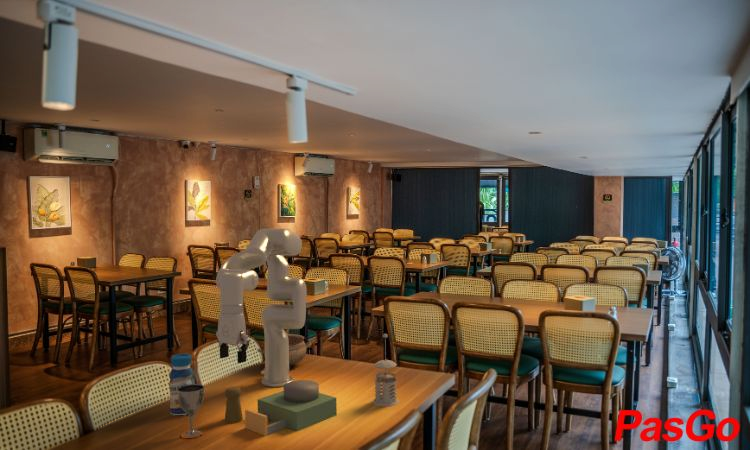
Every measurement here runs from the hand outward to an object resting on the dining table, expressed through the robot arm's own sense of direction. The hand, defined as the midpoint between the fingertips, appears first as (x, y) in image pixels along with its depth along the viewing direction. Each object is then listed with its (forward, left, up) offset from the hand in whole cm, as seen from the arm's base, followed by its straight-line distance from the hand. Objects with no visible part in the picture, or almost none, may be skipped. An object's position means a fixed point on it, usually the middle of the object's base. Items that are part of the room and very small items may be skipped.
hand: (233, 359), depth 200 cm
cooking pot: (-36, +54, -21) cm, 68 cm away
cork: (0, 0, -21) cm, 21 cm away
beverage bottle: (-20, -7, -21) cm, 30 cm away
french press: (+29, +45, -21) cm, 57 cm away
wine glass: (0, -16, -21) cm, 26 cm away
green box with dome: (+14, +11, -20) cm, 27 cm away
